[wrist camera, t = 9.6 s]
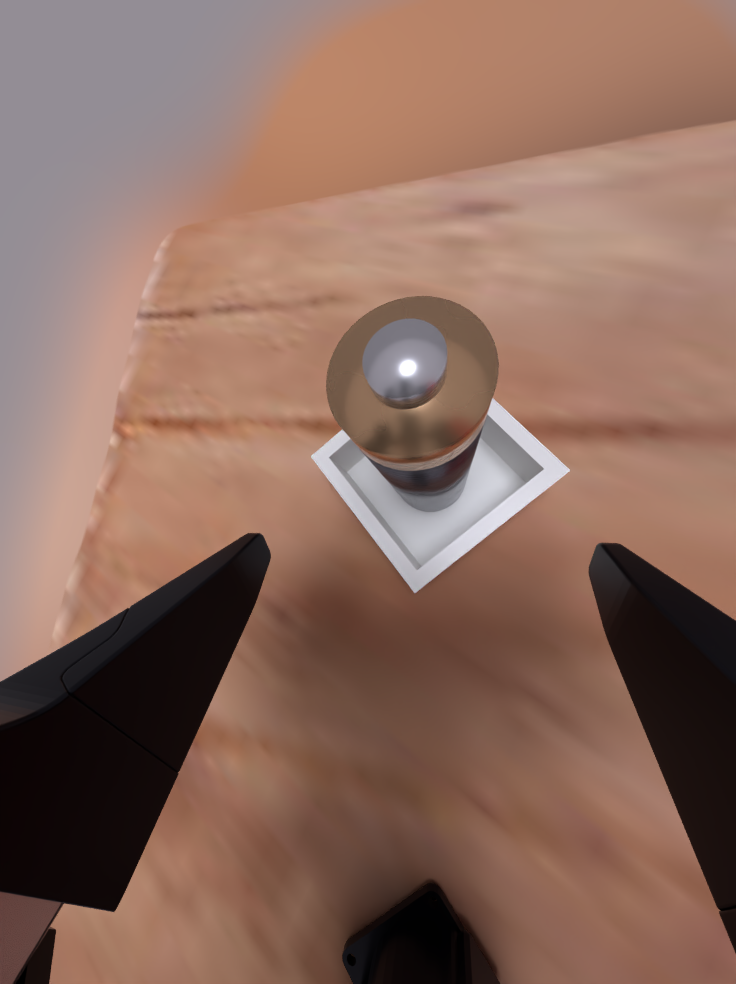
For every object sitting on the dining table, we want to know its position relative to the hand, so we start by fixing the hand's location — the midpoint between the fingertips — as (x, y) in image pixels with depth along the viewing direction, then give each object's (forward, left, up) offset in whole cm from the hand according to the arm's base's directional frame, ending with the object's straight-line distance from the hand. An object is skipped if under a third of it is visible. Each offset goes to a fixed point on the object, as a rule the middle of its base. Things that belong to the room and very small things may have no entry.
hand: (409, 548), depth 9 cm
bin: (+3, +4, -12) cm, 13 cm away
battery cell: (+3, +4, -11) cm, 12 cm away
